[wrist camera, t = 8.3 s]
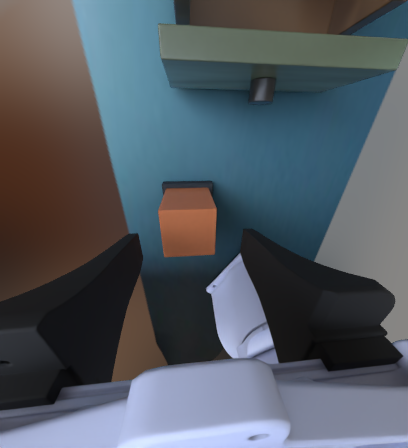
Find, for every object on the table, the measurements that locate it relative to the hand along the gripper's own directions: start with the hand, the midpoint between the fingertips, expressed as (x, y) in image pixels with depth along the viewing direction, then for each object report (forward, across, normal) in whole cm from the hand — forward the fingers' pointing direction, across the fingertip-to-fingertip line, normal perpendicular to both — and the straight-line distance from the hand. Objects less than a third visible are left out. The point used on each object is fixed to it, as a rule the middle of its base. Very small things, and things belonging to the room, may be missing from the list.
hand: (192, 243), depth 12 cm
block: (+7, 0, 0) cm, 7 cm away
